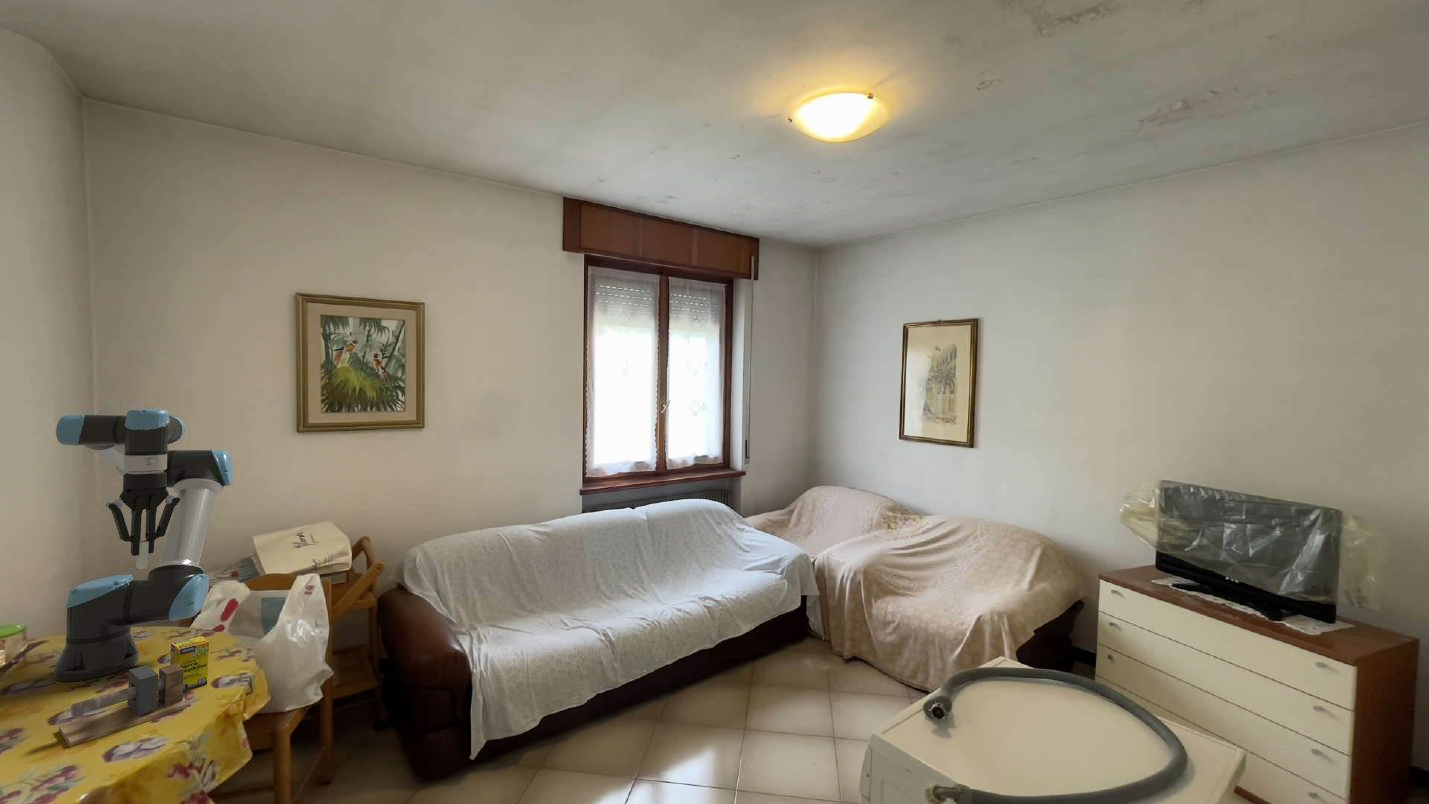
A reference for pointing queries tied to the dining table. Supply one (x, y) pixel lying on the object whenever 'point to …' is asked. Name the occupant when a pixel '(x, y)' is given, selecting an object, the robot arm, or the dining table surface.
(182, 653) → the supplement box
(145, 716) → the pipe rig
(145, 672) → the dark grey flat block
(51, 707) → the dining table surface
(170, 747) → the dining table surface
